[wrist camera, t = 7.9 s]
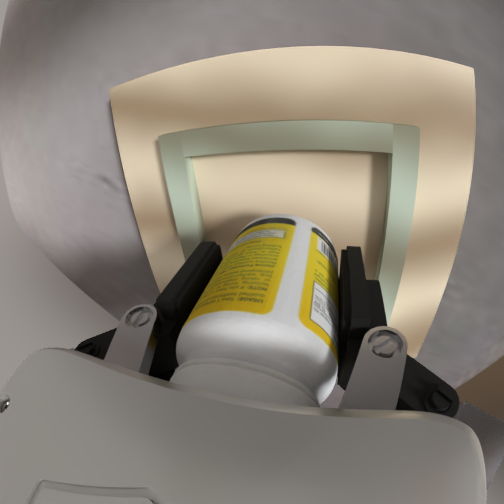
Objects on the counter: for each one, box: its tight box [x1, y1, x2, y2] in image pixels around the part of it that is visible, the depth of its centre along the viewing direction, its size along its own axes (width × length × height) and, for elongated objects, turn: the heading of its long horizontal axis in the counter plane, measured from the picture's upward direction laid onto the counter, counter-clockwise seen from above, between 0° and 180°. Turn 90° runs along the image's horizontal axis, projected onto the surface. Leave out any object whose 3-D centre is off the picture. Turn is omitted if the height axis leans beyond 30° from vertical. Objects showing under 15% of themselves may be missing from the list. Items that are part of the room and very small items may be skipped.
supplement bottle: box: [170, 214, 339, 408], centre depth 9 cm, size 5×5×8 cm
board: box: [109, 46, 476, 357], centre depth 14 cm, size 18×18×2 cm
